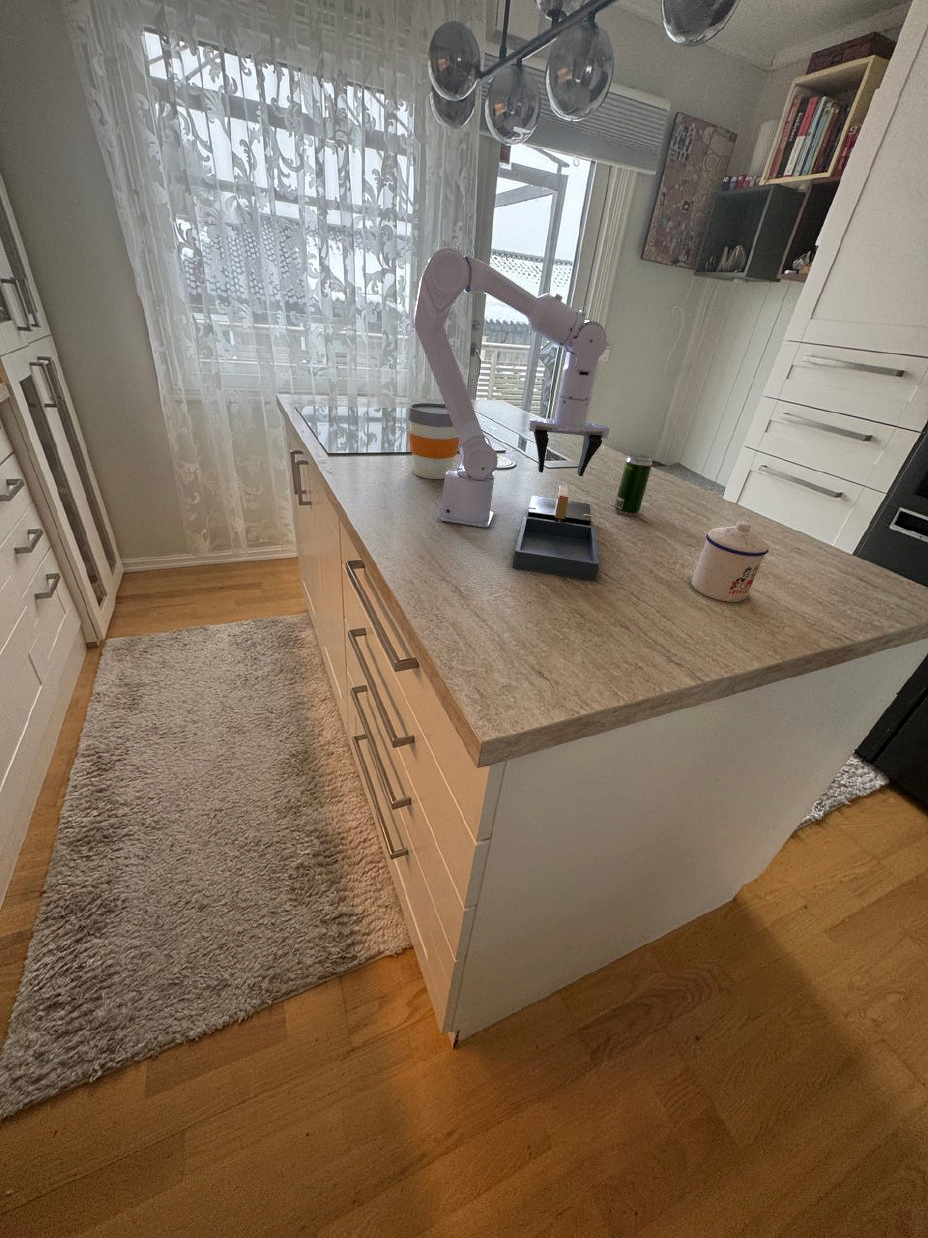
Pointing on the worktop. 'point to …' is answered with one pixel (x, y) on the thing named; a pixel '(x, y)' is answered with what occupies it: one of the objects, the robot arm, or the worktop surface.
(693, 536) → the worktop surface
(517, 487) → the worktop surface
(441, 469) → the reusable coffee cup
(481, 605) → the worktop surface
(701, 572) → the teacup with lid
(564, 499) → the yellow-brown long block
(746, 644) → the worktop surface
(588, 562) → the tray
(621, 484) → the beer can
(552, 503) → the black cupboard
